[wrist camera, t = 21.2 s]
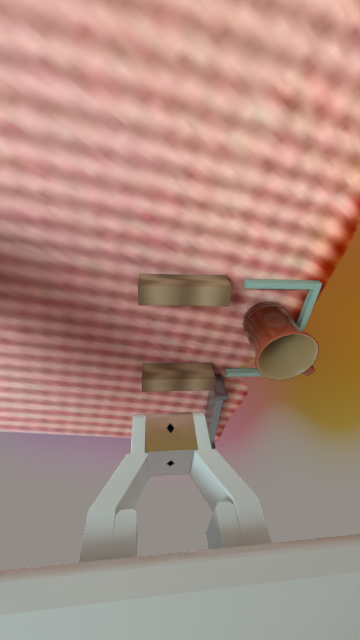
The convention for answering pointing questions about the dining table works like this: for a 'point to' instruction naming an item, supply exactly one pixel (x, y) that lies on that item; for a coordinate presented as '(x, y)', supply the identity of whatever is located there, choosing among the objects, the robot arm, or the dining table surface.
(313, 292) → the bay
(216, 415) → the gate
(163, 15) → the dining table surface
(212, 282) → the wooden blocks
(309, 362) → the mug
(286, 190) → the dining table surface
